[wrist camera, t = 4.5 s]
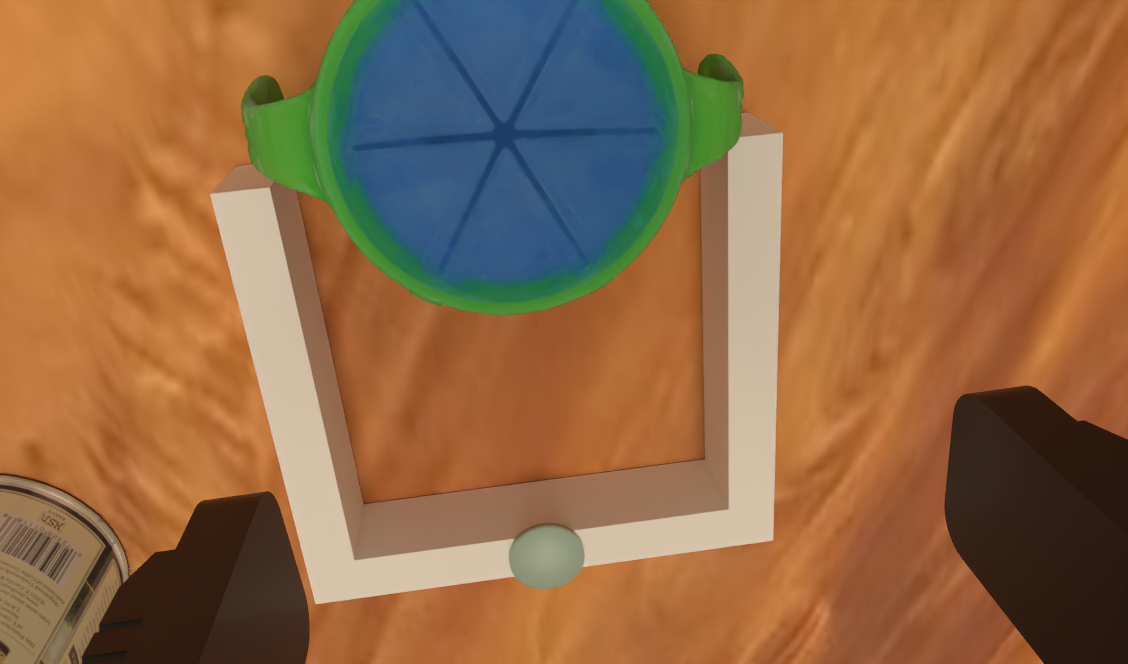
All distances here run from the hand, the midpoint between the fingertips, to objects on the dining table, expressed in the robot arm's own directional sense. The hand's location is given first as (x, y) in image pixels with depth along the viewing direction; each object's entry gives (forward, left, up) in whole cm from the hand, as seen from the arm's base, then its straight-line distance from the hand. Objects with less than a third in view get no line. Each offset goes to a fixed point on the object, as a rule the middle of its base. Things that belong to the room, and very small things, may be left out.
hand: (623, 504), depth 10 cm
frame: (+1, +10, -26) cm, 28 cm away
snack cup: (+1, -1, -26) cm, 26 cm away
